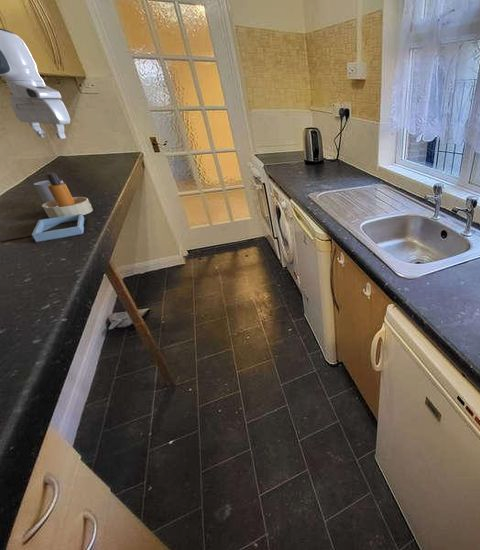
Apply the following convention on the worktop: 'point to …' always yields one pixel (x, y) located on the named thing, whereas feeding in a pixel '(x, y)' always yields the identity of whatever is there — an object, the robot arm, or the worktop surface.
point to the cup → (44, 190)
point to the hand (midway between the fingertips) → (52, 137)
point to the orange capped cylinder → (59, 191)
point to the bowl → (67, 208)
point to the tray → (60, 233)
